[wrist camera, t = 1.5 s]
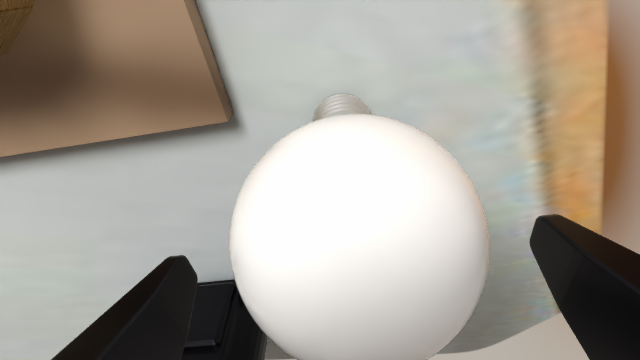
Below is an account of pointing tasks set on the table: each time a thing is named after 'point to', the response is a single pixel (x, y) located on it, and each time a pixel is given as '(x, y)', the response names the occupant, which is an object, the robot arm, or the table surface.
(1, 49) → the socket collar
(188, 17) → the socket base
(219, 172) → the table surface
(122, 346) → the robot arm
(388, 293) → the lightbulb
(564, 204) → the table surface
